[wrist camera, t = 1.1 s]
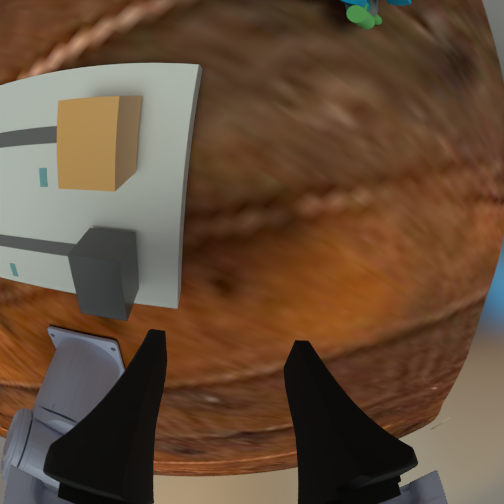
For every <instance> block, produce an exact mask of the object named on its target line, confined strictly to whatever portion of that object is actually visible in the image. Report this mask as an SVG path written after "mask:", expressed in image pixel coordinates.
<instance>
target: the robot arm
mask: <svg viewBox="0 0 504 504" xmlns="http://www.w3.org/2000/svg"><path fill="white" fill-rule="evenodd" d="M47 330H48V333H49V335H50V337H51V339H52V342H53V344H54V346H55V348H56V351H55V354H54V356H53V358H52V360H51V363H50V365H49V367H48V370H47V372H46V375H45V377H44V380H43V382H42V385H41V387H40V390H39V392H38V395H37V398H36V401H35V403H34V406H33V409H31V410H29V409H27V408H23V409H19V410H18V411H17V412H16V414H15V416H14V418H13V420H12V423H11V425H10V428H9V431H8V434H7V437H6V441H5V446H4V450H3V457H2V461H1V473H2V476H3V481H4V482H5V484H6V490H5V496H4V504H153V503H154V499H153V460H154V441H155V429H156V422H157V417H158V412H159V407H160V402H161V397H162V393H163V388H164V383H165V376H166V366H167V351H166V337H165V331H161V330H154V329H150V330H149V331H148V333H147V335H146V337H145V339H144V341H143V343H142V344H141V346H140V348H139V349H138V351H137V353H136V354H135V356H134V358H133V359H132V361H131V362H130V364H129V365H128V367H127V368H126V370H125V368H124V364H123V361H122V357H121V354H120V350H119V346H118V343H117V342H116V341H115V340H111V339H106V338H101V337H96V336H91V335H87V334H82V333H77V332H73V331H69V330H65V329H61V328H57V327H53V326H49V327H48V329H47ZM284 379H285V388H286V393H287V398H288V403H289V407H290V412H291V416H292V421H293V425H294V430H295V436H296V447H297V460H298V504H448V503H447V500H446V496H445V493H444V490H443V487H442V484H441V480H440V477H439V474H438V471H436V470H435V471H433V472H431V473H429V474H427V475H425V476H423V477H421V478H419V479H417V480H414V481H412V482H410V483H409V484H407V485H405V486H402V487H400V488H399V485H398V483H399V482H401V478H400V475H401V474H403V473H405V472H407V471H409V470H411V469H412V468H414V467H416V466H417V464H418V461H417V458H416V455H415V453H414V450H413V448H412V447H410V446H409V445H407V444H405V443H403V442H402V441H400V440H398V439H397V438H395V437H394V436H392V435H391V434H389V433H388V432H387V431H385V430H384V429H383V428H381V427H380V426H379V425H378V424H376V423H375V422H374V421H373V420H372V419H370V418H369V417H368V416H367V415H366V414H365V413H364V412H363V411H362V410H361V409H360V408H359V407H358V406H357V405H356V404H355V403H354V402H353V401H352V400H351V399H350V397H349V396H348V395H347V394H346V393H345V391H344V390H343V389H342V388H341V387H340V385H339V384H338V383H337V381H336V380H335V379H334V377H333V376H332V375H331V373H330V372H329V371H328V369H327V368H326V366H325V365H324V363H323V362H322V360H321V359H320V357H319V356H318V354H317V353H316V351H315V350H314V348H313V347H312V345H311V344H310V342H309V341H297V340H295V342H294V345H293V347H292V349H291V352H290V354H289V356H288V359H287V361H286V363H285V366H284Z"/></svg>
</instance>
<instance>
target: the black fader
mask: <svg viewBox="0 0 504 504" xmlns="http://www.w3.org/2000/svg"><path fill="white" fill-rule="evenodd" d="M68 260H69V264H70V269H71V274H72V278H73V282H74V287H75V291H76V294H77V298H78V302H79V306H80V309H81V313H85V314H90V315H95V316H101V317H106V318H112V319H118V320H124V321H128V318H129V315H130V312H131V309H132V306H133V303H134V301H135V298H136V295H137V293H138V290H139V280H138V267H137V250H136V232H126V231H116V230H106V229H97V228H89V229H88V231H87V232H86V233H85V234H84V235H83V237H82V238H81V239H80V240H79V241H78V243H77V244H76V245H75V246H74V247H73V249H72V250H71V251H70V252H69V254H68Z"/></svg>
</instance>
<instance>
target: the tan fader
mask: <svg viewBox="0 0 504 504" xmlns="http://www.w3.org/2000/svg"><path fill="white" fill-rule="evenodd" d="M141 99H142V96H101V97H87V98H76V99H68V100H60V101H58V114H57V172H58V187H59V189H78V190H97V191H113V192H115V191H116V190H117V189H118V188H119V187H121V186H122V185H123V184H124V183H125V182H126V181H127V180H128V179H129V178H130V177H131V176H132V175H134V174H135V173H136V159H137V142H138V129H139V118H140V108H141Z"/></svg>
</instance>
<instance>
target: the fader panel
mask: <svg viewBox="0 0 504 504" xmlns="http://www.w3.org/2000/svg"><path fill="white" fill-rule="evenodd" d="M202 70H203V69H202V68H201V67H200V65H197V64H179V63H129V64H112V65H101V66H91V67H83V68H76V69H69V70H63V71H57V72H52V73H47V74H42V75H37V76H33V77H29V78H25V79H21V80H17V81H14V82H10V83H7V84H4V85H0V277H2V278H6V279H10V280H14V281H19V282H23V283H27V284H32V285H36V286H41V287H45V288H50V289H55V290H60V291H65V292H71V293H76V291H75V287H74V282H73V278H72V274H71V269H70V264H69V260H68V254H69V252H70V251H71V250H72V249H73V247H74V246H75V245H76V244H77V243H78V241H79V240H80V239H81V238H82V237H83V235H84V234H85V233H86V232H87V231H88V229H89V228H97V229H106V230H116V231H126V232H136V250H137V267H138V280H139V290H138V293H137V295H136V298H135V301H134V303H137V304H145V305H152V306H160V307H168V308H176V309H178V303H179V298H180V293H181V273H182V249H183V231H184V216H185V203H186V191H187V180H188V170H189V161H190V152H191V143H192V135H193V127H194V120H195V113H196V106H197V100H198V93H199V87H200V81H201V75H202ZM101 96H142V99H141V108H140V118H139V129H138V142H137V159H136V173H135V174H134V175H132V176H131V177H130V178H129V179H128V180H127V181H126V182H125V183H124V184H123V185H122V186H121V187H119V188H118V189H117V190H116V191H115V192H113V191H97V190H78V189H59V187H58V172H57V114H58V101H60V100H68V99H76V98H87V97H101Z"/></svg>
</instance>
